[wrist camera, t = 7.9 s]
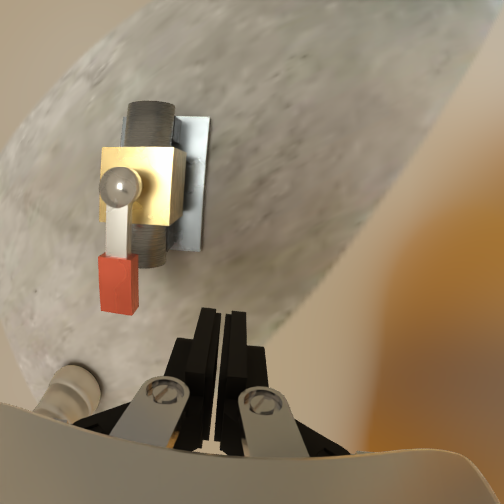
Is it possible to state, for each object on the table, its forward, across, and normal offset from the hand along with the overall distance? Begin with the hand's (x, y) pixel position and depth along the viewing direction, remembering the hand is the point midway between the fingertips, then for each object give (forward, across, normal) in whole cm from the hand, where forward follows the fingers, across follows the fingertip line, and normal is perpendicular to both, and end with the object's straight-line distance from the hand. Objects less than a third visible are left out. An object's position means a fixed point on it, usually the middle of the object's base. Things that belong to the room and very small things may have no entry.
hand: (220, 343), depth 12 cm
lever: (+8, +7, -1) cm, 11 cm away
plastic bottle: (+17, +17, +20) cm, 32 cm away
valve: (+18, +7, -4) cm, 20 cm away
